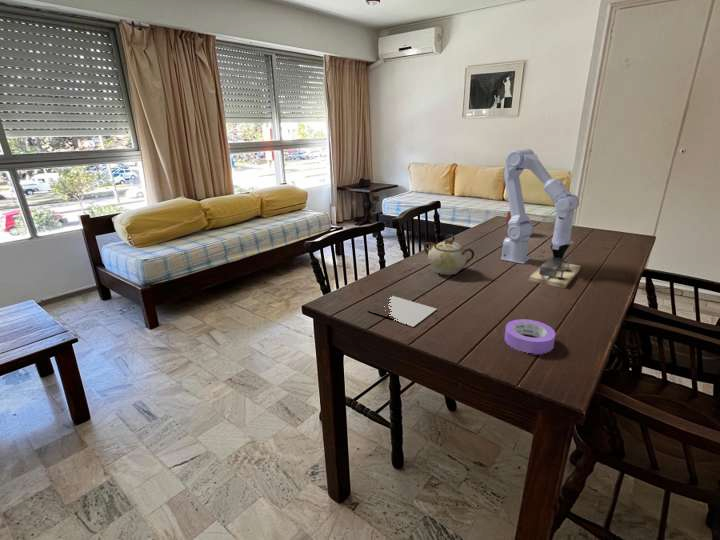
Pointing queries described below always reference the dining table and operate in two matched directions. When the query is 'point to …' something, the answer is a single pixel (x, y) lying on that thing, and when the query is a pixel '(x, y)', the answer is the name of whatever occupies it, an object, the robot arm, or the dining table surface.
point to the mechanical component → (508, 218)
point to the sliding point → (557, 262)
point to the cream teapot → (448, 256)
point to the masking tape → (528, 343)
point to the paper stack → (408, 311)
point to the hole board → (554, 279)
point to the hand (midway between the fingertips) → (557, 263)
